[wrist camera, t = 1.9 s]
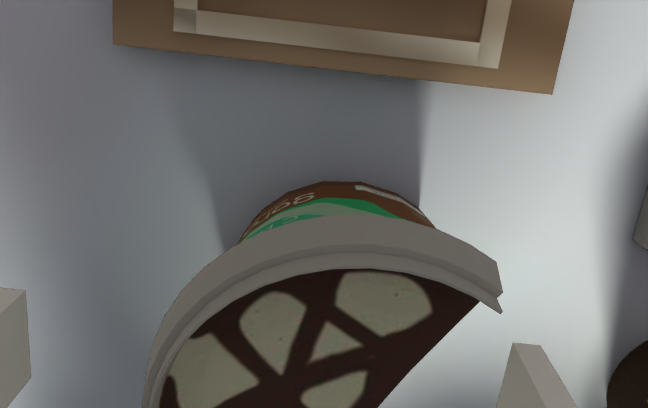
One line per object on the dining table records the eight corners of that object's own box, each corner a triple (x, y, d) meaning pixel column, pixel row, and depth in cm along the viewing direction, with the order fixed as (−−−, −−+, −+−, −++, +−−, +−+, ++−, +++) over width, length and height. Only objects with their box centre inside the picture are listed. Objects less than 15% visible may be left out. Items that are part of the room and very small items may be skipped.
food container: (325, 83, 22) (318, 136, 13) (444, 181, 23) (518, 296, 14) (147, 306, 25) (35, 481, 16) (260, 383, 27) (218, 589, 17)
